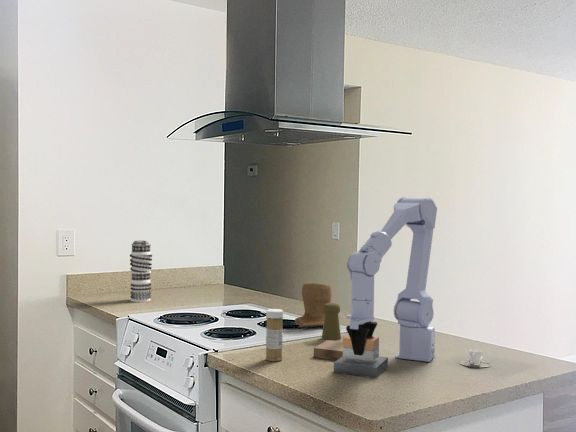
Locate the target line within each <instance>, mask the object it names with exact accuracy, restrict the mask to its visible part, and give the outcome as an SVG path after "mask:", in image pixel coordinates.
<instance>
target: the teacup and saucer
mask: <svg viewBox="0 0 576 432" xmlns="http://www.w3.org/2000/svg"><path fill="white" fill-rule="evenodd" d="M483 359H484V358H483V356H482V350H480V349H476V348H475V349H474V348H473V349H468V360H470V362H469V363H470V365H471V364H479V365H480V364H481V363H480V361H484V360H483Z"/></svg>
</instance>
